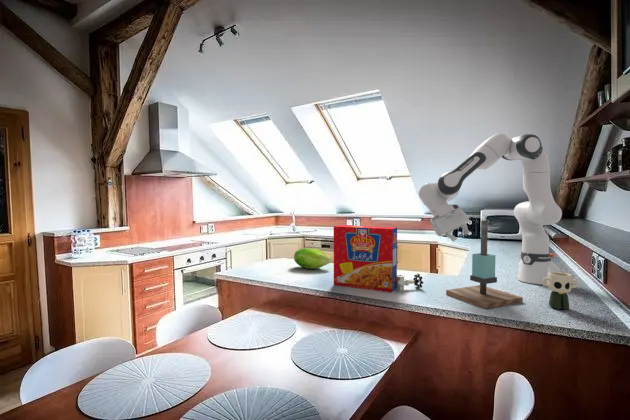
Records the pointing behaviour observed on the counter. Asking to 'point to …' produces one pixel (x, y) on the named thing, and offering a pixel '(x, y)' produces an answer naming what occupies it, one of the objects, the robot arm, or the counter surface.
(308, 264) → the green papaya
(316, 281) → the counter surface
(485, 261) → the sleeve
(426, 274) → the counter surface
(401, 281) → the valve
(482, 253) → the pipe stand
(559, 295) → the character mug
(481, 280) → the rubber ring
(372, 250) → the pasta box
